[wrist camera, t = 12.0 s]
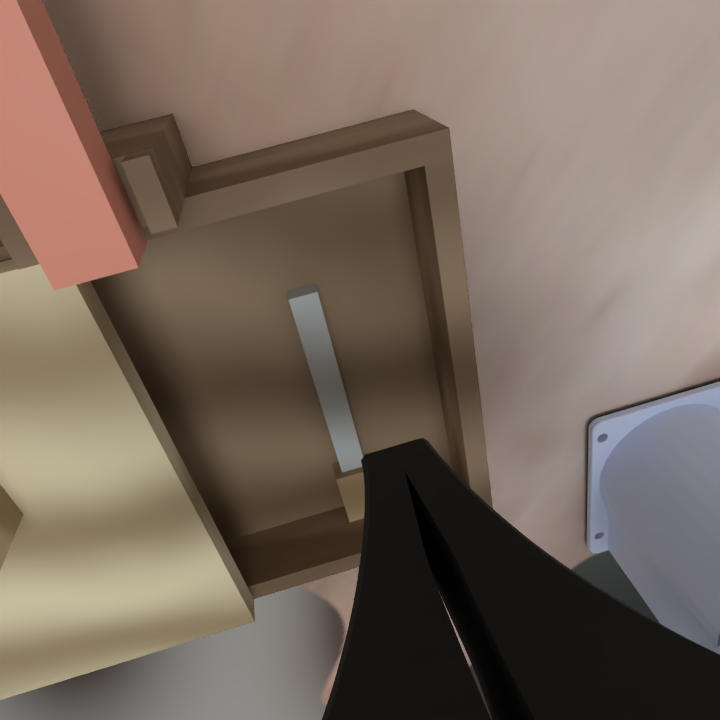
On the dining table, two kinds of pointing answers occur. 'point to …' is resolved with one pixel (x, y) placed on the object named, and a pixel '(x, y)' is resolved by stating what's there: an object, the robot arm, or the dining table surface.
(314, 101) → the dining table surface
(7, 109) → the pink bar
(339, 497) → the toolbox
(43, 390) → the lid
